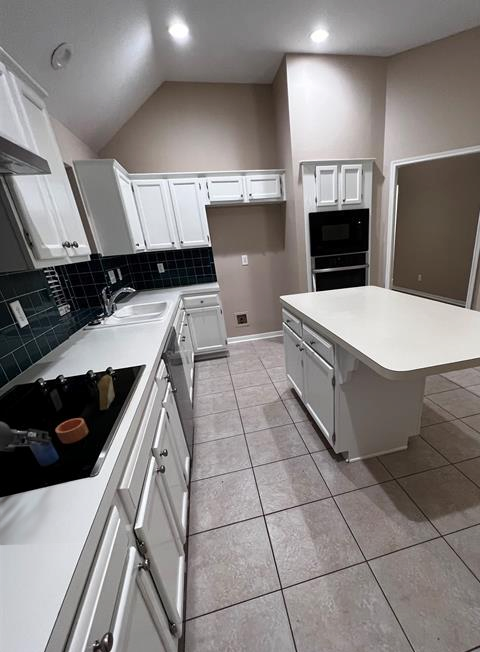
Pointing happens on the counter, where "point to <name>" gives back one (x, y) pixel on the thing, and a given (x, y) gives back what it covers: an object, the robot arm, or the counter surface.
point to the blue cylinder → (44, 454)
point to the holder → (72, 430)
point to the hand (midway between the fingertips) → (31, 444)
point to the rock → (106, 392)
